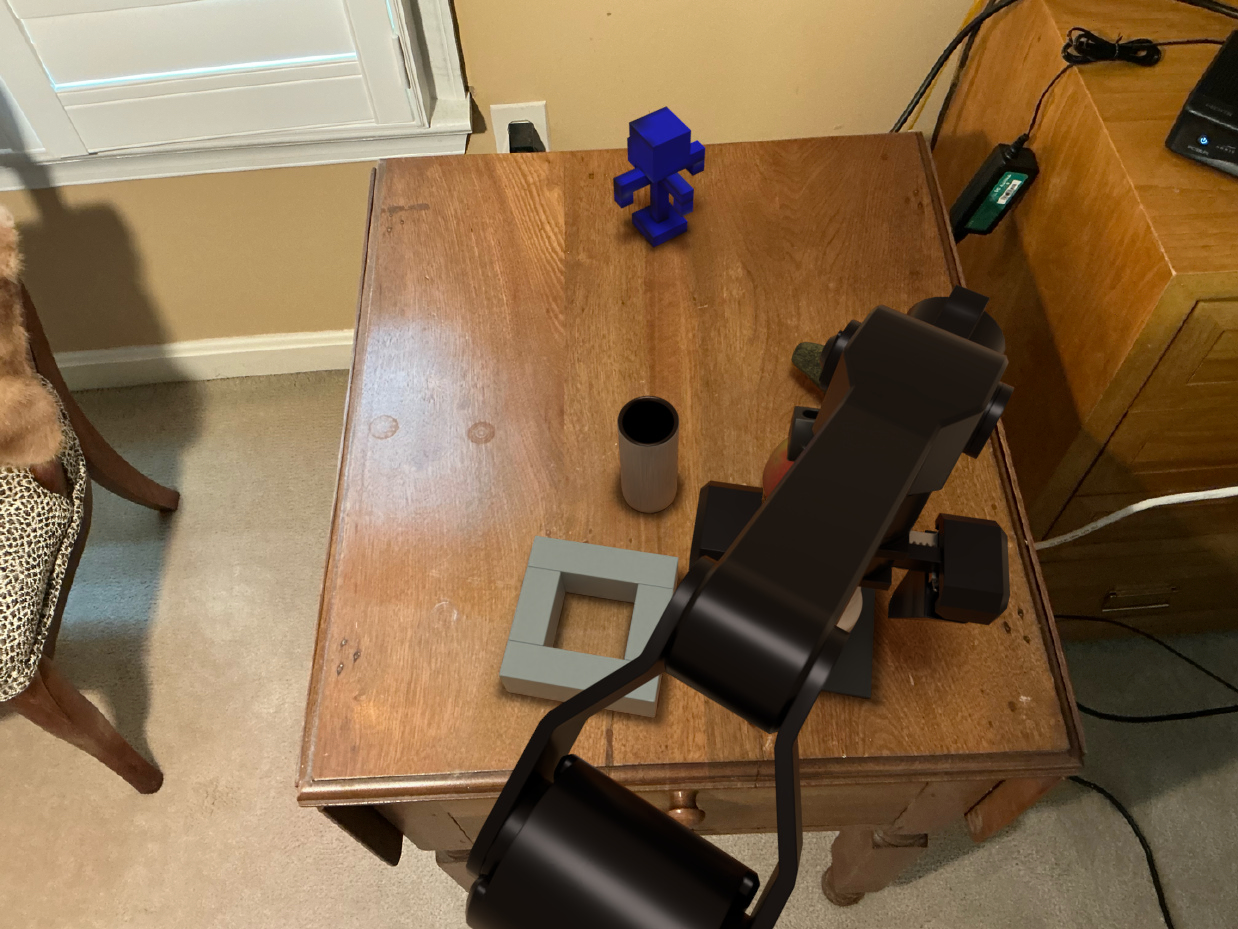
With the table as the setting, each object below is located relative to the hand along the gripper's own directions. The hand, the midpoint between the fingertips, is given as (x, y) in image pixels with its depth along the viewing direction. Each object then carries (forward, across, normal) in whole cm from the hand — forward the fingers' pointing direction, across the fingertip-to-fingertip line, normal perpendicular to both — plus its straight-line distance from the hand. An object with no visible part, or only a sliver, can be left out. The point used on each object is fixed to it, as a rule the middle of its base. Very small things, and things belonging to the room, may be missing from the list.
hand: (823, 601), depth 61 cm
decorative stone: (+6, -2, -22) cm, 23 cm away
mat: (+6, 0, 0) cm, 6 cm away
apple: (+6, +1, -11) cm, 12 cm away
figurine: (+6, +18, -40) cm, 44 cm away
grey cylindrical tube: (+6, +14, -10) cm, 18 cm away
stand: (+6, +16, +3) cm, 17 cm away
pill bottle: (+5, 0, 0) cm, 5 cm away
